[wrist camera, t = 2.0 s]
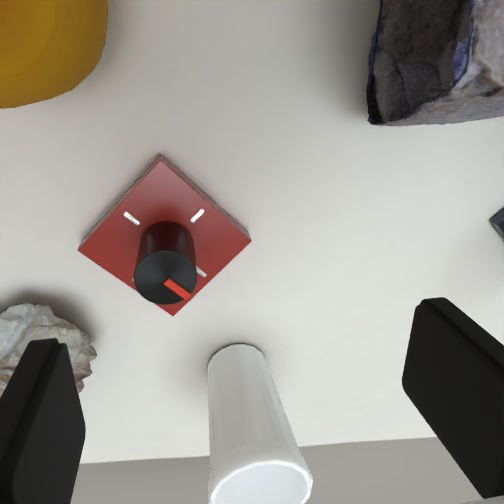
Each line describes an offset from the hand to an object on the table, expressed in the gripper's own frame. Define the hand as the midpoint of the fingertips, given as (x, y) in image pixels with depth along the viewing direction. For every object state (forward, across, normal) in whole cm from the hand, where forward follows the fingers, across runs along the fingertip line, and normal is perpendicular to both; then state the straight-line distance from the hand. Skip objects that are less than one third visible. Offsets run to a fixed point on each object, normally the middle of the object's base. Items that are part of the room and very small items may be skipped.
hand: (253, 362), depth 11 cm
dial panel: (+25, +3, +6) cm, 26 cm away
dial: (+23, +3, +6) cm, 24 cm away
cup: (+26, -3, +21) cm, 34 cm away
